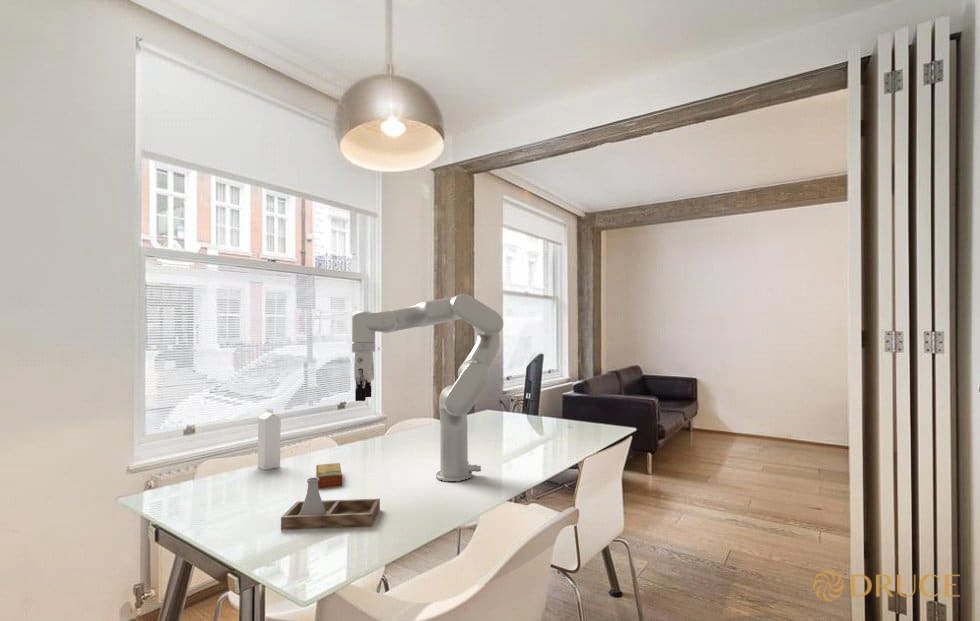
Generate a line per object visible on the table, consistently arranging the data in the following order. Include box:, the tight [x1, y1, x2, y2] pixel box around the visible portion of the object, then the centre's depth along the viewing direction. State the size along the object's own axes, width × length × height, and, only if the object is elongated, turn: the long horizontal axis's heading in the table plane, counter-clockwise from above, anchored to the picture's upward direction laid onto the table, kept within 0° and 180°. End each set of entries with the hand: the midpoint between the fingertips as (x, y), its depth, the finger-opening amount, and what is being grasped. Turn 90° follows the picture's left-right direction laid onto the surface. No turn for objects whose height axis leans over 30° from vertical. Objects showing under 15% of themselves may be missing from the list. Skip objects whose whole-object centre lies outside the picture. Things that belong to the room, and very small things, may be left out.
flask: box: [300, 476, 326, 515], centre depth 130 cm, size 7×7×10 cm
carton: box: [315, 462, 343, 490], centre depth 165 cm, size 8×16×4 cm, turn 20°
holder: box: [280, 498, 381, 530], centre depth 129 cm, size 23×12×3 cm, turn 93°
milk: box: [257, 408, 282, 471], centre depth 184 cm, size 6×6×22 cm
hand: (363, 399), depth 161 cm, fingers open, 9 cm apart
